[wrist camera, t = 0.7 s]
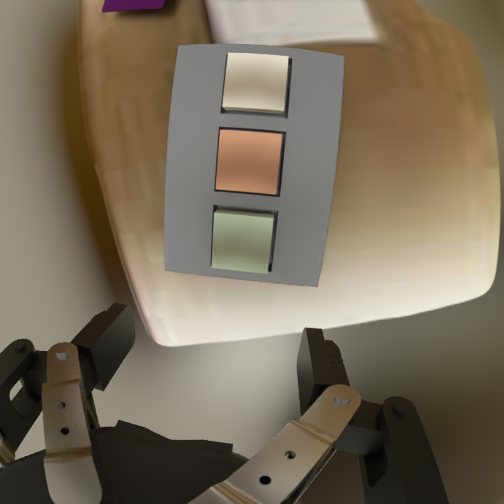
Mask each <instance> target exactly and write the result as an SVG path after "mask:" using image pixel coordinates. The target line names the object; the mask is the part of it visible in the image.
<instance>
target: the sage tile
mask: <svg viewBox="0 0 504 504" xmlns="http://www.w3.org/2000/svg"><path fill="white" fill-rule="evenodd" d="M273 220H274V215H273V214H271V213H261V212H251V211H240V210H229V209H217V210H216V211H215V212H214V225H213V246H212V268H217V269H226V270H235V271H245V272H254V273H264V274H268V265H269V256H270V247H271V238H272V229H273Z"/></svg>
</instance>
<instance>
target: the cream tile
mask: <svg viewBox="0 0 504 504" xmlns="http://www.w3.org/2000/svg"><path fill="white" fill-rule="evenodd" d="M288 58H289V56H279V55H268V54H252V53H228V58H227V67H226V76H225V85H224V95H223V105H222V107H223V108H224V109H225V110H233V111H250V112H263V113H274V114H283V113H284V106H285V95H286V83H287V70H288Z"/></svg>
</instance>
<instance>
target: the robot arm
mask: <svg viewBox="0 0 504 504" xmlns="http://www.w3.org/2000/svg"><path fill="white" fill-rule="evenodd" d="M134 341H135V328H134V320H133V313H132V307H131V306H130V305H127V304H121V303H114V304H113V305H112V306H111V307H110V308H109V309H108V310H107V311H103V312H101V313H99V314H97V315H96V316H94V317H93V318H92V319H91V321H90V323H88V324H87V325H86V326H85V327H84V328H83V329H82V330H81V331H80V332H79V333H78V334H77V335H76V336H75V337H74V339H73V340H72V341H71V342H70V343H69V342H62V343H57V344H55V345H53V346H52V347H51V348H50V349H49V350H48V351H38V350H35V348H34V346H33V343H32V342H31V341H30V340H28V339H18V340H16V341H14V342H12V343H11V344H10V345H8V346H7V348H5V349H4V350H3V352H1V353H0V504H294V503H295V502H296V501H297V500H298V499H299V497H300V496H301V495H302V494H303V493H304V491H305V490H306V489H307V488H308V486H309V485H310V484H311V482H312V481H313V480H314V478H315V477H316V476H317V474H318V473H319V472H320V470H321V469H322V468H323V467H324V465H325V464H326V463H327V462H328V460H329V459H330V458H331V456H332V455H333V454H334V452H335V451H336V449H338V450H343V451H347V452H352V453H357V454H358V458H359V465H360V471H361V478H362V485H363V492H364V500H365V504H449V502H448V498H447V495H446V491H445V488H444V485H443V482H442V478H441V475H440V472H439V469H438V466H437V463H436V460H435V457H434V455H433V452H432V449H431V446H430V443H429V441H428V438H427V435H426V433H425V430H424V427H423V425H422V422H421V420H420V417H419V415H418V412H417V410H416V407H415V406H414V404H413V403H412V402H411V401H409V400H408V399H405V398H403V397H397V396H396V397H390V398H388V399H386V400H385V401H384V403H383V404H382V405H381V404H376V403H371V402H367V401H364V400H362V399H361V397H360V395H359V393H358V392H357V391H356V390H355V389H353V388H352V387H350V384H349V381H348V377H347V374H346V370H345V367H344V364H343V360H342V358H341V353H340V350H339V347H338V346H337V345H336V344H335V343H334V342H333V341H331V340H324V336H323V332H322V329H319V328H304V330H303V334H302V339H301V343H300V348H299V353H298V358H297V376H298V388H299V400H300V413H301V418H300V419H299V420H298V421H297V420H295V419H293V420H291V421H290V422H289V423H288V424H287V425H286V426H285V427H284V428H283V429H282V430H281V431H280V432H279V433H278V434H277V435H276V436H275V437H274V438H273V439H272V440H270V441H269V442H268V444H266V445H265V446H264V447H263V448H262V449H261V450H260V451H259V452H258V453H256V454H255V455H254V456H253V457H252V458H251V459H248V458H246V457H244V456H242V455H240V454H237V453H234V452H232V449H233V444H229V443H221V442H214V441H208V440H171V439H168V438H166V437H163V436H161V435H159V434H157V433H155V432H153V431H151V430H149V429H147V428H145V427H142V426H138V425H135V424H131V423H128V422H124V421H121V420H118V422H117V424H116V426H115V427H100V424H99V420H98V416H97V413H96V408H95V403H94V399H93V395H92V391H93V389H94V388H95V389H98V390H101V391H104V390H105V388H106V387H107V385H108V383H109V382H110V380H111V379H112V377H113V376H114V374H115V372H116V371H117V369H118V368H119V366H120V364H121V363H122V361H123V360H124V359H125V357H126V355H127V354H128V352H129V351H130V349H131V348H132V346H133V344H134ZM18 380H20V382H21V384H22V386H23V387H22V388H21V389H20V390H19V392H18V393H17V395H16V396H15V397H14V398H13V400H12V401H11V400H10V397H9V394H10V390H11V389H12V388H13V386H14V385H15V384H16V383H17V381H18ZM41 412H43V427H44V437H45V447H46V449H44V450H42V451H39V452H36V453H34V454H31V455H28V456H25V457H23V458H20V459H17V460H15V452H16V450H17V449H18V447H19V445H20V444H21V442H22V441H23V439H24V437H25V436H26V434H27V433H28V431H29V430H30V428H31V427H32V425H33V424H34V422H35V421H36V419H37V418H38V416H39V415H40V413H41Z"/></svg>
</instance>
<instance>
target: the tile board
mask: <svg viewBox="0 0 504 504" xmlns="http://www.w3.org/2000/svg"><path fill="white" fill-rule="evenodd" d="M228 53H252V54H268V55H279V56H289V58H288V70H287V83H286V95H285V106H284V113H283V114H274V113H263V112H250V111H233V110H225V109H224V108H223V107H222V105H223V95H224V85H225V76H226V67H227V58H228ZM343 75H344V56H341V55H336V54H330V53H324V52H318V51H312V50H305V49H297V48H288V47H278V46H266V45H249V44H196V45H179V46H178V52H177V59H176V66H175V74H174V81H173V90H172V99H171V108H170V119H169V131H168V144H167V160H166V180H165V217H164V253H165V271H171V272H179V273H187V274H196V275H204V276H213V277H222V278H231V279H240V280H249V281H259V282H269V283H279V284H289V285H300V286H311V287H318V283H319V277H320V272H321V266H322V261H323V255H324V249H325V243H326V236H327V230H328V223H329V217H330V210H331V203H332V195H333V187H334V179H335V171H336V162H337V153H338V143H339V132H340V121H341V108H342V93H343ZM220 130H234V131H249V132H262V133H272V134H282V139H281V150H280V161H279V171H278V181H277V191H276V195H275V194H265V193H254V192H243V191H231V190H219V189H216V177H217V163H218V150H219V138H220ZM217 209H229V210H240V211H251V212H261V213H271V214H273V215H274V220H273V229H272V238H271V247H270V256H269V265H268V274H264V273H254V272H245V271H235V270H226V269H217V268H212V246H213V225H214V212H215V211H216V210H217Z"/></svg>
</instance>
